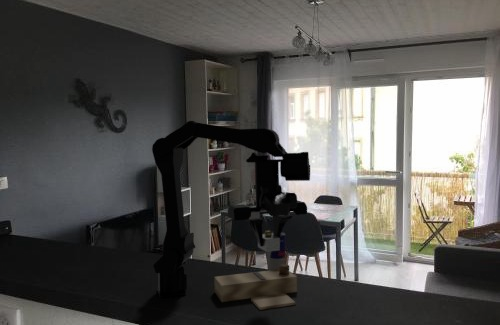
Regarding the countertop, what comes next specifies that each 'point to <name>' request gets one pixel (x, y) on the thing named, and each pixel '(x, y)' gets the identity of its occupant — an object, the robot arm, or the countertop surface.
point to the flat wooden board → (272, 301)
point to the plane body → (255, 284)
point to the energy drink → (277, 255)
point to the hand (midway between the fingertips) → (268, 245)
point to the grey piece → (270, 242)
